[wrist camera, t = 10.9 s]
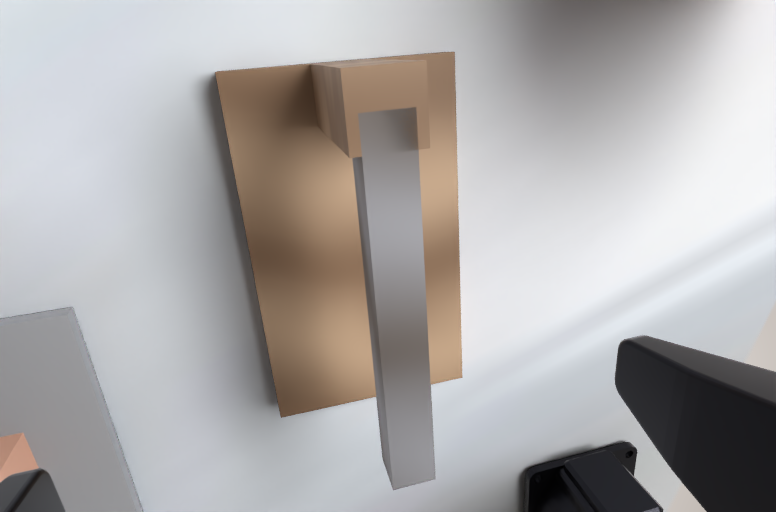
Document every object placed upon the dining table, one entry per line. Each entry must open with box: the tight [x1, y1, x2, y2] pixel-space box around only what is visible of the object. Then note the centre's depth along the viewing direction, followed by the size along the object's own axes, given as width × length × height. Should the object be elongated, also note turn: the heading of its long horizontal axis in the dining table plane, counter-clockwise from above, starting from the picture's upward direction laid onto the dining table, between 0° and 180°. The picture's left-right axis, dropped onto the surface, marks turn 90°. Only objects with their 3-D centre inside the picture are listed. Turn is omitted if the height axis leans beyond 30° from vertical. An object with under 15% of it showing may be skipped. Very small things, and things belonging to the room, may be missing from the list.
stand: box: [215, 52, 462, 490], centre depth 17 cm, size 14×8×7 cm, turn 4°
